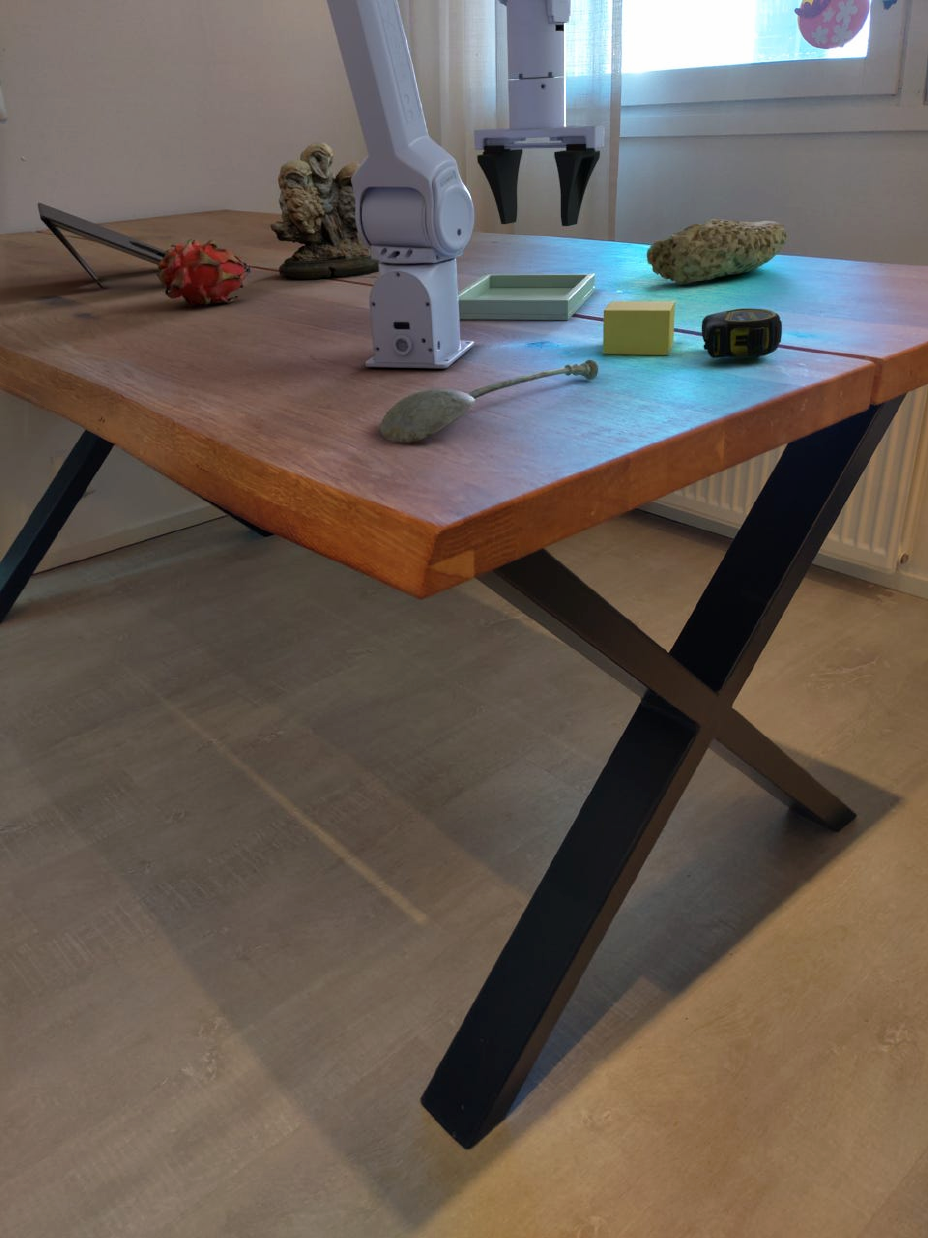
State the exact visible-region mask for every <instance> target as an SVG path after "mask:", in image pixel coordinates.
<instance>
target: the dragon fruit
mask: <svg viewBox="0 0 928 1238" xmlns="http://www.w3.org/2000/svg"><path fill="white" fill-rule="evenodd" d="M170 247H171V248H170V249H166V250H164V251H165V256H164V257H165V258H163V259H162V260H161V261H160V262H159V263H157V264H158V265H157V269H158V273H157V274H156V276H157V278H158V279H159V281H160V283H161V284H162V285H163V286H165V288H166V289H165V290H164V292H165V295H166V296H167V297H168V298H169V299H178V298H180V297H182V298H184V302H185V304H186V305H187V306H188V307H190V308H191V307H193V306H195V305H198V303H199V304H200V305H204V306H206V305H208V304H210V303H219V302H220V303H224V304H230V303H233V302H235V301H236V300H238V299H239V296H238V295H234V296H231V297H229V295H230V294H231V293H234V292H236V291H238V290H239V289H243V288H244V284H243V282H244V281H245V279H246V278H247V277H248V275H249V274H250V273H251V267H250V266H249V267H247V262H245V260H243V258H241V257H239V256H237V255H235V254H233V253H232V252H231V250H230V249H229V248H221V247H218V245H217V243H216V241H215V239H209V240H208V241H207V242H206V243H204V244H201V243H200V241H198V240H197V239H194V240H193V239H192V238H189V239H188V240H187V241H186V245H182V244H180V243H172V244H171V246H170ZM173 247H174V249H173ZM228 297H229V298H228Z"/></svg>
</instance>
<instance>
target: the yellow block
mask: <svg viewBox="0 0 928 1238" xmlns="http://www.w3.org/2000/svg"><path fill="white" fill-rule="evenodd" d="M675 312H676V301H674V300H611V301H610V302H609V303H608V305H607V306H606V307H605V309H603V325H602V326H603V328H602V329H603V330H602V331H603V333H602V334H603V335H602V337H603V338H602V339H603V340H602V354H603V355H629V356H630V355H633V356H634V355H635V356H642V355H643V356H668V355H669V353H670V352H671V350H672V347H673V345H674V335H675V315H676V314H675Z"/></svg>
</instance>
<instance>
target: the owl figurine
mask: <svg viewBox="0 0 928 1238" xmlns="http://www.w3.org/2000/svg"><path fill="white" fill-rule="evenodd" d="M299 156H300V157H299V158H292V159H290V160H287V162H286V163H284V164H282V165H281V166H280V170H279V171H280V172H279V174H278V178H277V183H278V188H279V189H280V194H279V198H278V204H279V208H280V210H281V219H282V221H281V220H280V221H279V220H276V221H275V222H274V223H270V224H269V227H270V229H271V231H272V232H274V233H275V236H276V239H277V240H279V242H291V243H293V244H295V243H297V244H300V245H301V246H300V247H298V248H297V250H296V251H294V253H293V254H292V255H291V256H290V257H288V258H285V260H284V262H283V263H282V264H281V265H280V266H279V267H278V273H279V275H280V276H281V275H286V276H287V277H290V278H293V279H299V280H314V279H322V278H326V279H327V278H330V277H331V276H332V271H331V269H332V270H334V271H333V276H335V277H337V278H343V277H348V276H356V275H363V274H364V275H365V274H369V273H375V272H379V266H378V262H379V260H376V259H372V255H371V249H369V248H368V247H367V246H366V245H365V244H364V243H363V241H362V239H361V238H360V235H359V233H358V230H357V226H356V219H355V194H354V190H353V186H352V182H351V178H352V176H353V174H354V173H355V171H356V169H357V168H358V167H359V165H360V164H361V163H357V162H351V163H349V164H346V165H344V166H343V167H342V168H340V170H339V171H338V173H337V174H336V175H335V173H334V171H333V170H332V165H333V162H334V151H333V149H332V147H330V146H329V145H328V144H327V143H325V142H322V141H318V142H312V143H311V144H309V145H307V147H306V148H305V149H304V150H302V152H301V153H300V155H299Z"/></svg>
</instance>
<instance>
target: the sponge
mask: <svg viewBox="0 0 928 1238" xmlns="http://www.w3.org/2000/svg"><path fill="white" fill-rule="evenodd" d="M786 232H787V231H786V229H785V225H783V224H781V223H780V222H778V221H775V220H763V221H739V220H728V219H723V218H722V219H721V218H713V219H710V220H707V221H704V223H703V224H702V223H694V224H691V225H689V226H687V227H685V228H683V230H681V231H678V232H675V233H673V234H672V235H670V236H669V237H667V238H665V239H661V240H658V241H656V242H654V243H652V244H651V245H650V246H649V248H648V249H647V250H646V251H647V252H646V261H647V264H648V265H651V267H652V272H653V273H654V274H655V275H657V276H658V275H660V277H661V278H663V279H665V280H669V281H671V282H675V284H676V285H686V284H691V283H694V282H703V281H710V280H714V279H716V278H719V277H720V278H722V277H725V276H730V275H739V274H744V273H748V272H751V271H753V270H756V269H758V268H759V267H762V266H763V265H765V264H767V263H769V262H771V260H773V258H775V257H776V256H777V255H778V254H779V253H780V251H781V250H782V249H783V248H784V246H785V244H786V243H787V233H786Z"/></svg>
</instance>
